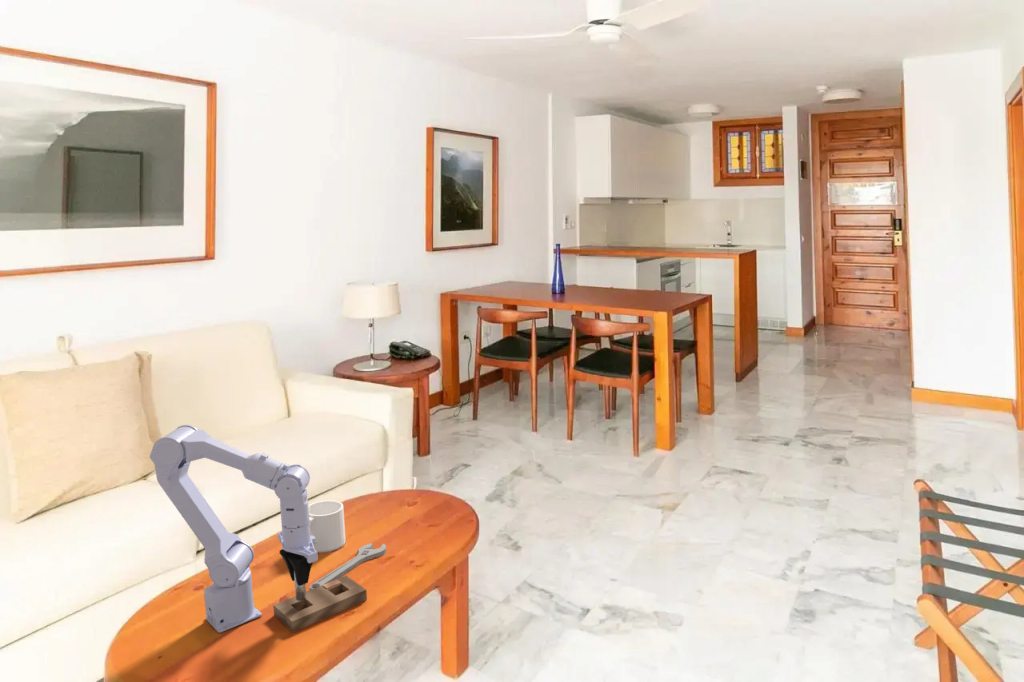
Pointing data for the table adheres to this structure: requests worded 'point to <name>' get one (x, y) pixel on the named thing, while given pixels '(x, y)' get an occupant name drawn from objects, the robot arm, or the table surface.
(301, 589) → the steel pin
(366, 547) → the adjustable wrench
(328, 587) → the dock board
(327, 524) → the mug
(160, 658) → the table surface
